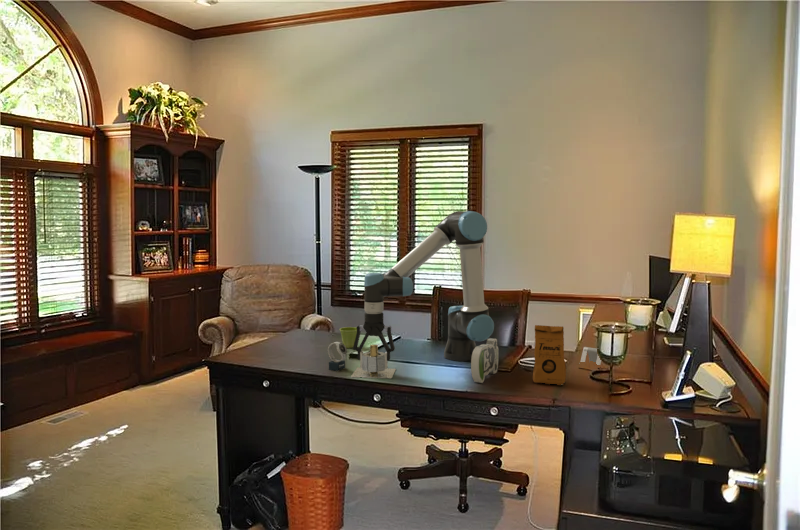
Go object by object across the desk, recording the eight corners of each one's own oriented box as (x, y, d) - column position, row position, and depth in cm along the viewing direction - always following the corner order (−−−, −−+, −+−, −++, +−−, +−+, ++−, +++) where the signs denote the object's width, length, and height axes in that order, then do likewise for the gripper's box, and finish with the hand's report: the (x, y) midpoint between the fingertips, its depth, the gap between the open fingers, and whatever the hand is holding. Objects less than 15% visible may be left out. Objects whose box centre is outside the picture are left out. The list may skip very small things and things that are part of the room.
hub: (386, 366, 255) (386, 351, 254) (383, 372, 246) (383, 356, 245) (364, 366, 256) (364, 351, 255) (361, 371, 247) (360, 356, 246)
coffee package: (564, 388, 231) (566, 329, 229) (530, 384, 236) (532, 326, 234) (567, 381, 241) (568, 324, 239) (534, 378, 245) (535, 322, 243)
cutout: (492, 337, 256) (471, 344, 233) (499, 337, 255) (478, 344, 232) (491, 374, 256) (470, 384, 234) (497, 374, 255) (477, 385, 233)
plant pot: (358, 349, 294) (358, 330, 293) (338, 349, 294) (338, 330, 293) (360, 344, 303) (360, 327, 302) (340, 344, 303) (340, 327, 302)
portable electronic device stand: (577, 368, 260) (578, 348, 259) (586, 365, 265) (586, 345, 265) (597, 372, 254) (597, 352, 253) (605, 368, 260) (606, 349, 259)
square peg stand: (395, 369, 257) (396, 342, 256) (391, 378, 243) (391, 349, 242) (357, 368, 259) (357, 341, 258) (350, 377, 245) (350, 348, 244)
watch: (341, 371, 253) (341, 344, 252) (325, 369, 257) (325, 342, 256) (349, 368, 258) (349, 342, 257) (332, 366, 262) (332, 340, 261)
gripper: (344, 313, 246) (345, 369, 248) (400, 314, 244) (400, 371, 246) (348, 310, 254) (348, 364, 256) (402, 311, 251) (402, 366, 253)
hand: (373, 367), depth 251 cm, fingers closed on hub, 9 cm apart
